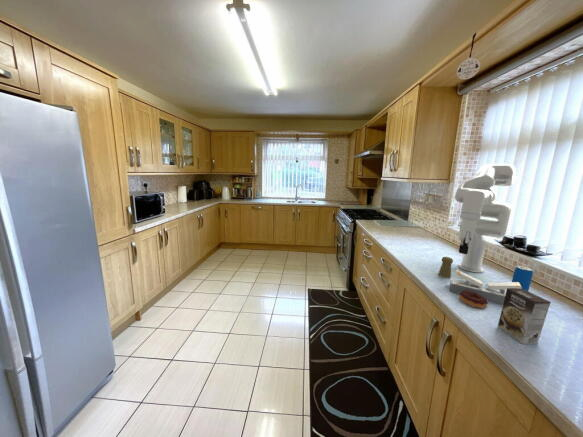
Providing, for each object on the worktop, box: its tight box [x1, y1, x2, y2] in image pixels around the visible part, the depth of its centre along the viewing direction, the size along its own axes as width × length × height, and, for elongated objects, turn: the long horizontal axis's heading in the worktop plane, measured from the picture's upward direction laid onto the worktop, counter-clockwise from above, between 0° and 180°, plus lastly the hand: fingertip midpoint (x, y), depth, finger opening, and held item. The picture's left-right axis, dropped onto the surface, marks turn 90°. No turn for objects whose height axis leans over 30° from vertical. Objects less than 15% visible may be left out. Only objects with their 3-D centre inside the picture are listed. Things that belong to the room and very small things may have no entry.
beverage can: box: [511, 265, 534, 292], centre depth 114 cm, size 6×6×12 cm
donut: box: [459, 291, 489, 309], centre depth 101 cm, size 10×10×4 cm
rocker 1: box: [454, 269, 484, 287], centre depth 110 cm, size 4×11×2 cm, turn 57°
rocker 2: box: [486, 281, 522, 290], centre depth 104 cm, size 4×11×2 cm, turn 57°
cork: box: [438, 256, 454, 279], centre depth 128 cm, size 6×6×11 cm
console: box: [449, 277, 507, 306], centre depth 107 cm, size 8×27×6 cm, turn 57°
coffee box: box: [497, 288, 551, 345], centre depth 80 cm, size 9×6×16 cm
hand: (462, 252), depth 110 cm, fingers closed
